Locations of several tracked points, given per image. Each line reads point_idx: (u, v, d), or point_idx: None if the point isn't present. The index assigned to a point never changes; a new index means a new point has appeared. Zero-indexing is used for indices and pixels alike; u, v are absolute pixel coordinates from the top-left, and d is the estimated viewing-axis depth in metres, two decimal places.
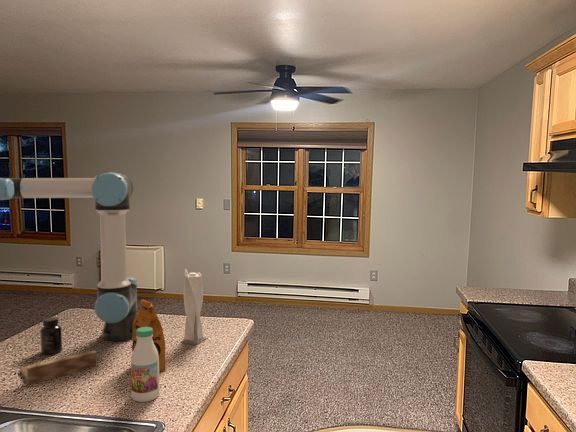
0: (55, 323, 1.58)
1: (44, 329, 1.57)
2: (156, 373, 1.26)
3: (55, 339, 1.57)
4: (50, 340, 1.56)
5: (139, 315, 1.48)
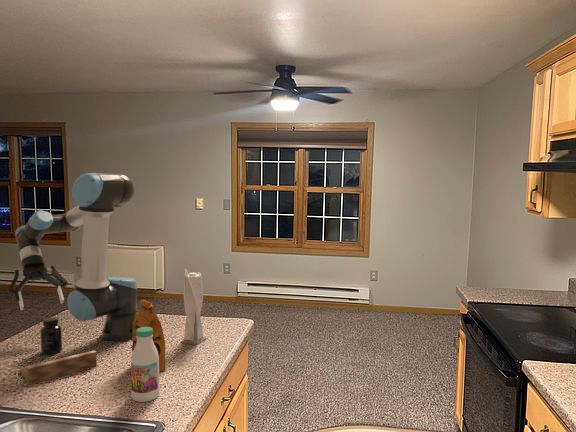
0: (55, 323, 1.58)
1: (44, 329, 1.57)
2: (156, 373, 1.26)
3: (55, 339, 1.57)
4: (50, 340, 1.56)
5: (139, 315, 1.48)
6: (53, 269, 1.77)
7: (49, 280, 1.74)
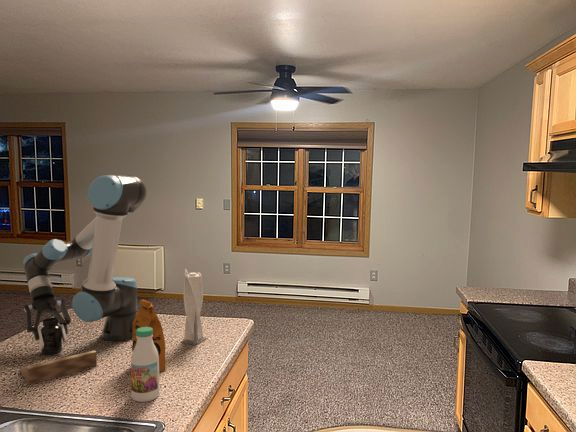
0: (55, 323, 1.58)
1: (44, 329, 1.57)
2: (156, 373, 1.26)
3: (55, 339, 1.57)
4: (50, 340, 1.56)
5: (139, 315, 1.48)
6: (62, 303, 1.67)
7: (54, 315, 1.64)
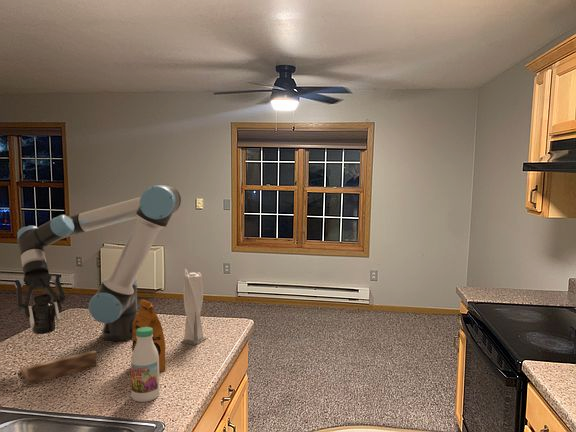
0: (47, 300, 1.45)
1: (35, 306, 1.44)
2: (156, 373, 1.26)
3: (47, 318, 1.45)
4: (41, 318, 1.44)
5: (139, 315, 1.48)
6: (57, 279, 1.54)
7: (48, 292, 1.51)
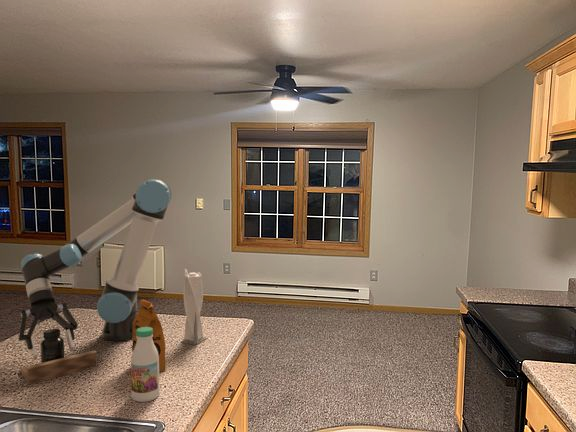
0: (57, 335, 1.43)
1: (45, 342, 1.41)
2: (156, 373, 1.26)
3: (57, 353, 1.42)
4: (51, 354, 1.41)
5: (139, 315, 1.48)
6: (64, 307, 1.52)
7: (58, 321, 1.49)
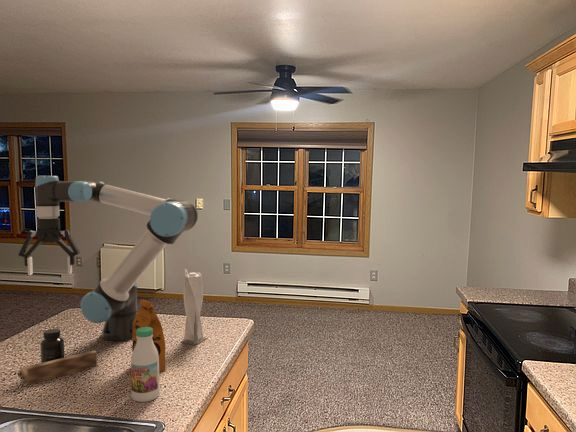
0: (57, 335, 1.43)
1: (45, 342, 1.41)
2: (156, 373, 1.26)
3: (57, 353, 1.42)
4: (51, 354, 1.41)
5: (139, 315, 1.48)
6: (66, 235, 1.64)
7: None
